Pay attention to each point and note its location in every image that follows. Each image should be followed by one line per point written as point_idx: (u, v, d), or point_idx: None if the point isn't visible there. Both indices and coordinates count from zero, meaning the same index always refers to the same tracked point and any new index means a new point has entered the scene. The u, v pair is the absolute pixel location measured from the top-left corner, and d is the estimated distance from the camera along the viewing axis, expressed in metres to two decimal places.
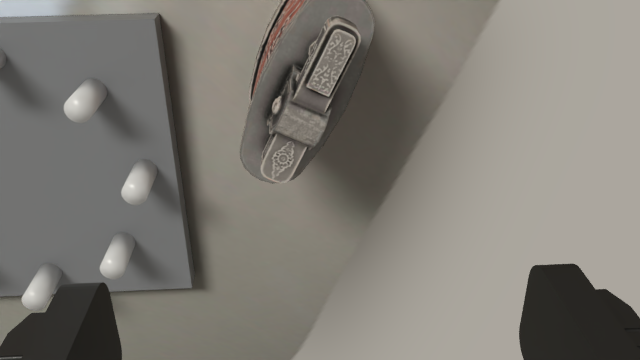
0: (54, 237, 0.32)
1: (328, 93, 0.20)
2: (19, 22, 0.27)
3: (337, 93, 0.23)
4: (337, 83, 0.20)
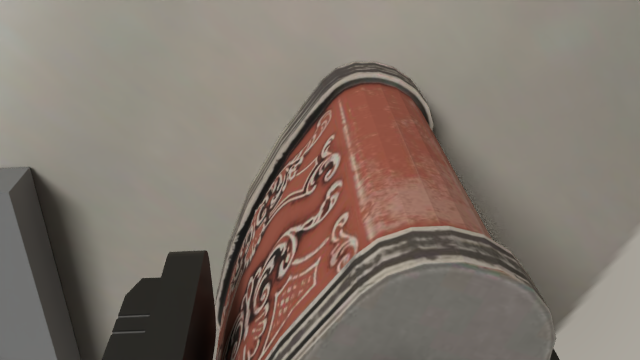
0: None
1: None
2: None
3: None
4: None
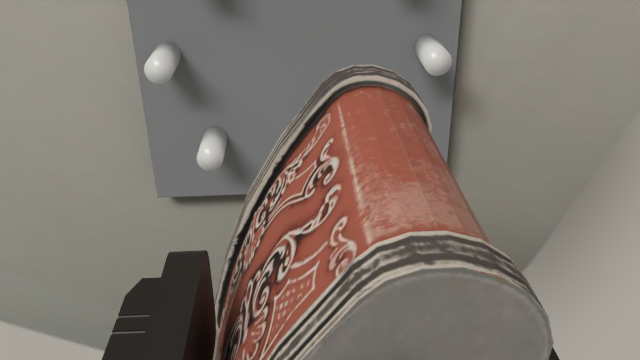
0: None
1: None
2: None
3: None
4: None
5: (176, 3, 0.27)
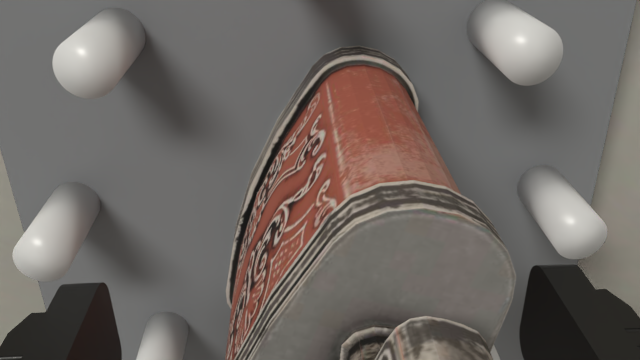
0: None
1: None
2: None
3: None
4: None
5: (84, 118, 0.14)
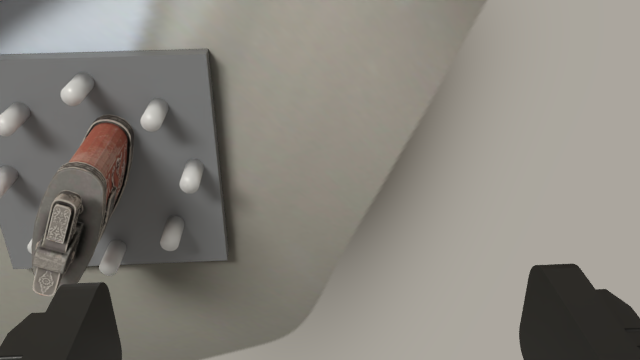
0: (122, 219, 0.41)
1: (62, 241, 0.30)
2: (105, 56, 0.36)
3: (89, 230, 0.33)
4: (68, 234, 0.31)
5: (9, 141, 0.38)
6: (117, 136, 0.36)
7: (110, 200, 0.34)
